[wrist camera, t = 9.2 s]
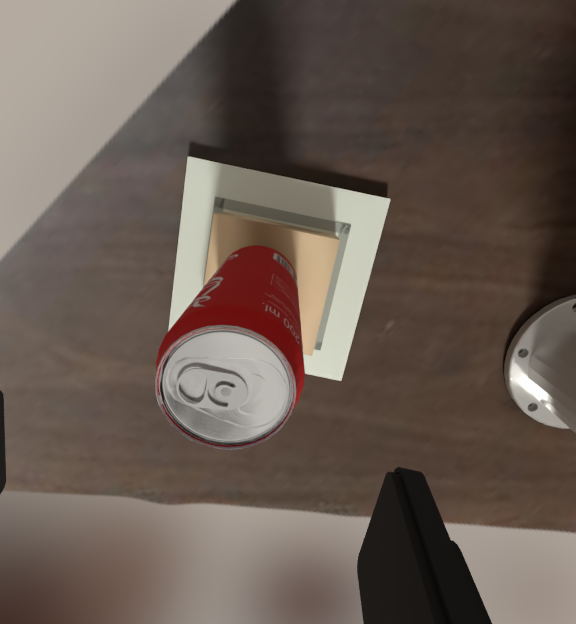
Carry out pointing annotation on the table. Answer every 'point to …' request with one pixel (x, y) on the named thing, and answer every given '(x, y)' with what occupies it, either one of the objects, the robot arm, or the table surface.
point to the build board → (292, 211)
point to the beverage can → (235, 354)
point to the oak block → (290, 243)
